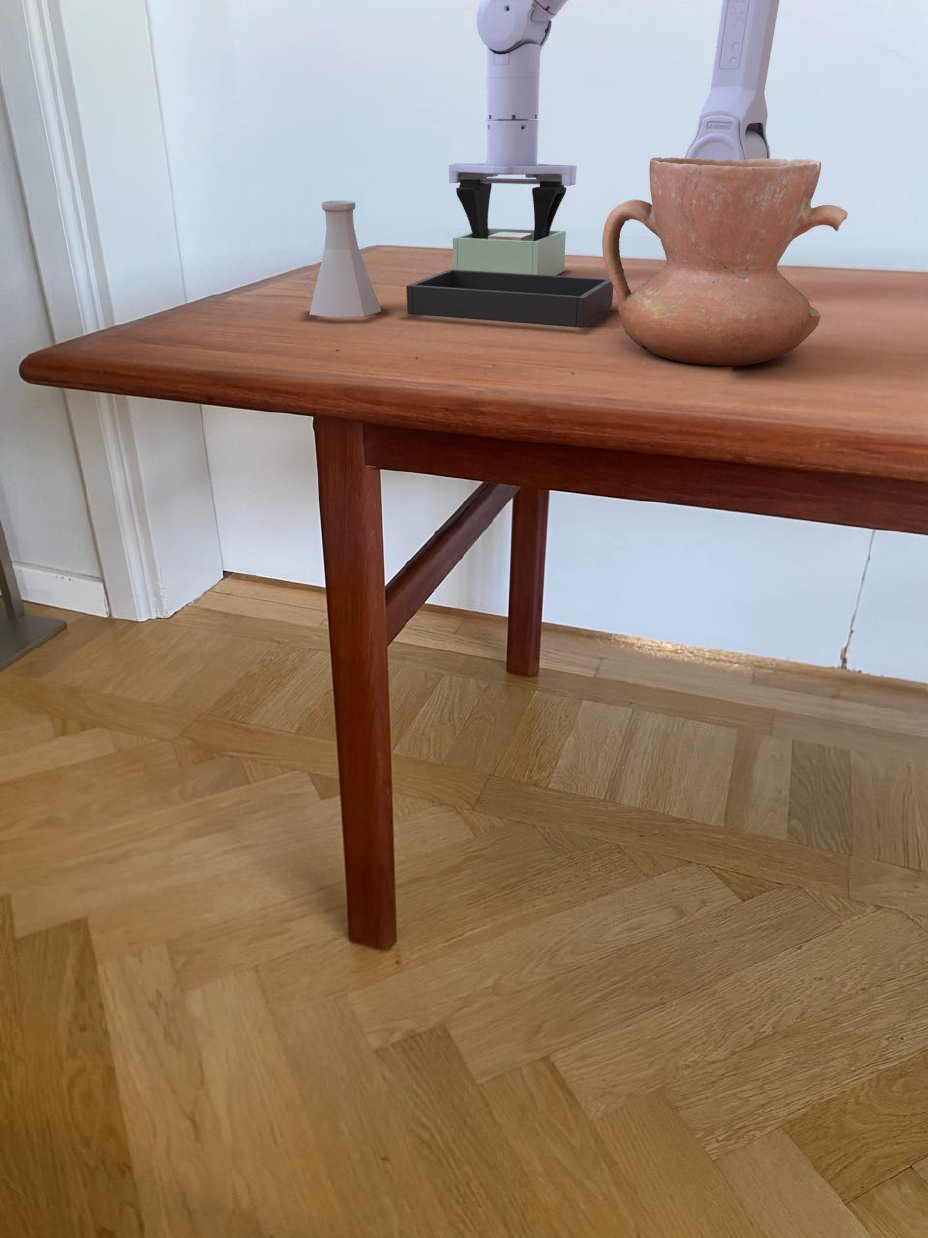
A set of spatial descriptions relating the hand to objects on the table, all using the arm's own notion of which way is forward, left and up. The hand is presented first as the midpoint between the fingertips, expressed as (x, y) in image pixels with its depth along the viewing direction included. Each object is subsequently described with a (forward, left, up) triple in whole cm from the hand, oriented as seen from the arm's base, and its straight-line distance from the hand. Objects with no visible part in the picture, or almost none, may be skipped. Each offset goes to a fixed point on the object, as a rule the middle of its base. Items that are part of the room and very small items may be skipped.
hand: (510, 252), depth 108 cm
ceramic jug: (-28, +31, -3) cm, 42 cm away
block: (0, 0, -2) cm, 2 cm away
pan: (-8, +21, -2) cm, 23 cm away
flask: (+7, +27, -3) cm, 28 cm away
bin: (0, 0, -2) cm, 2 cm away
